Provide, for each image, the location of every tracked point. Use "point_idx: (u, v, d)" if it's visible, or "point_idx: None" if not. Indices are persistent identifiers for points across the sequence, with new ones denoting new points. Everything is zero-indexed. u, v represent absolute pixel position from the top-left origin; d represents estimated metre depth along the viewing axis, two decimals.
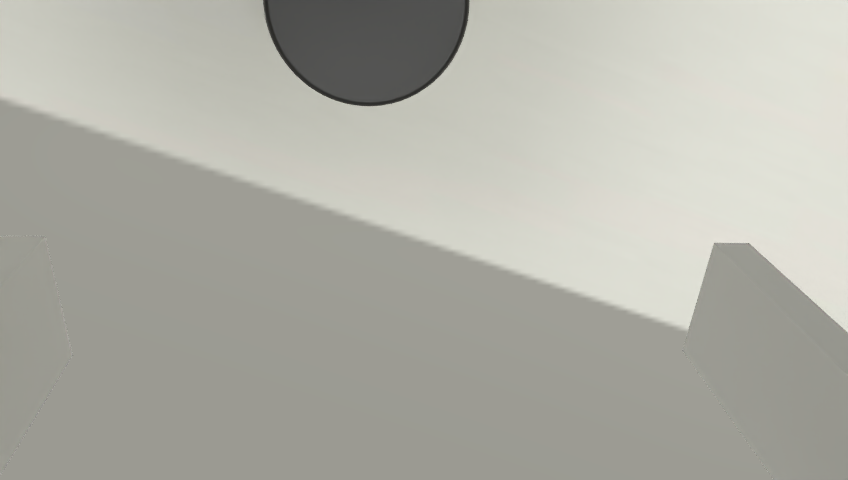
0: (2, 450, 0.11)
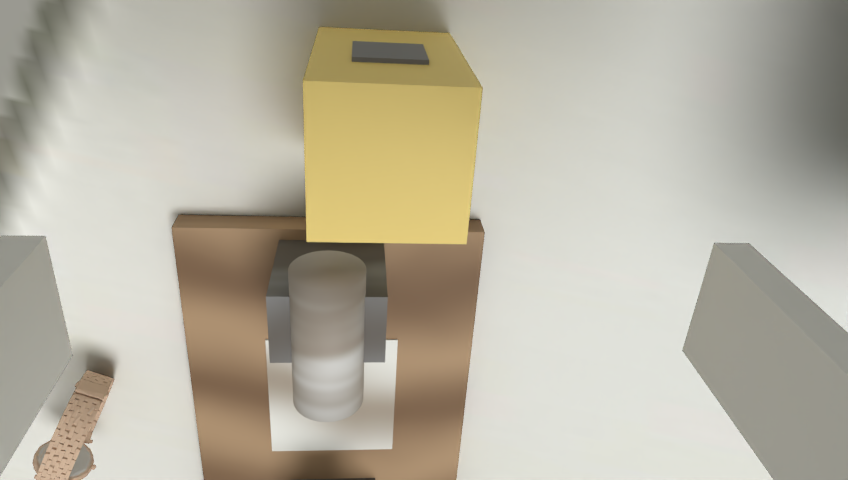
0: (2, 450, 0.11)
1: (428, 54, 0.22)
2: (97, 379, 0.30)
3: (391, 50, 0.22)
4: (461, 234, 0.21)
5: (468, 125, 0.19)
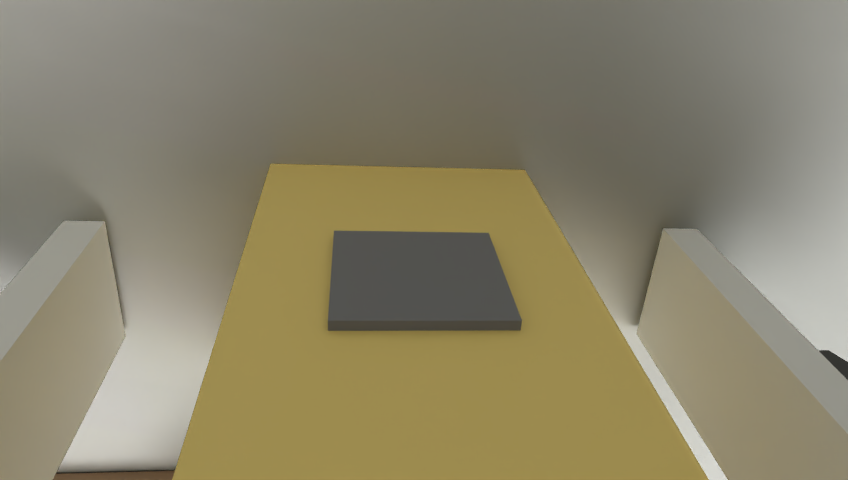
0: (71, 421, 0.11)
1: (506, 270, 0.10)
2: None
3: (423, 272, 0.09)
4: None
5: None
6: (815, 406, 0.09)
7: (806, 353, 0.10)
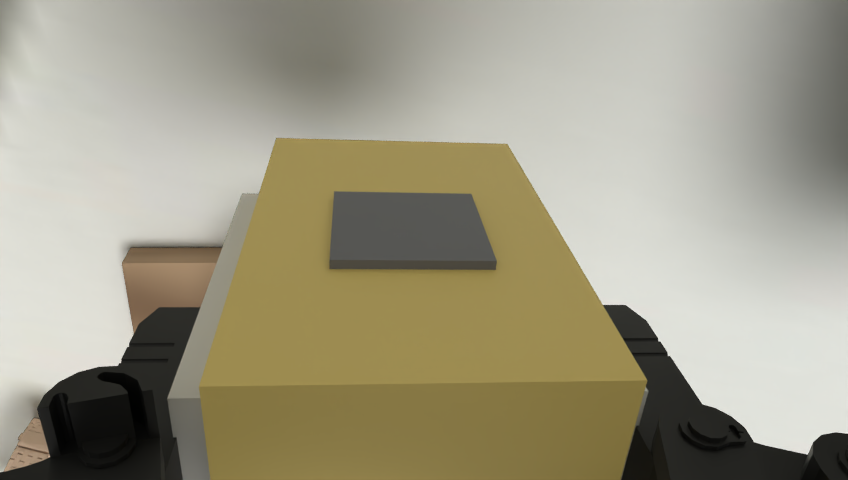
0: None
1: (486, 223, 0.11)
2: None
3: (413, 224, 0.11)
4: None
5: (604, 451, 0.08)
6: None
7: None
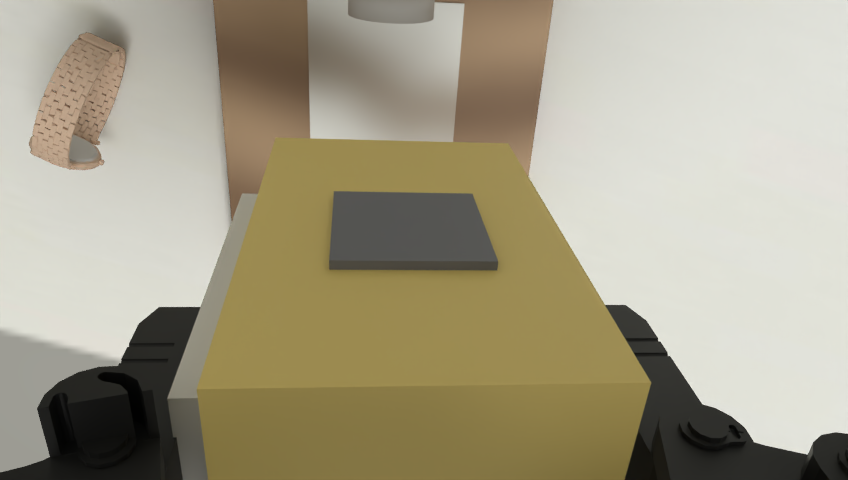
0: None
1: (487, 224, 0.11)
2: (106, 41, 0.25)
3: (413, 224, 0.10)
4: None
5: (607, 454, 0.08)
6: None
7: None
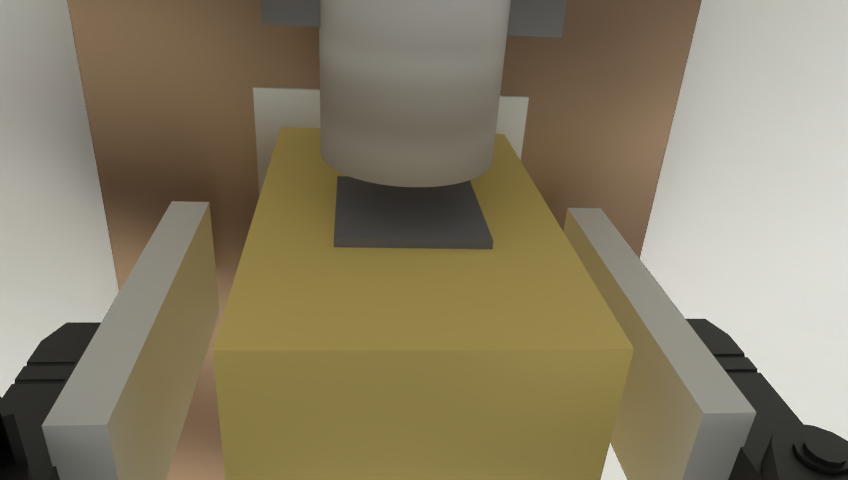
0: (191, 383, 0.12)
1: (483, 207, 0.12)
2: None
3: (413, 206, 0.11)
4: None
5: (593, 418, 0.09)
6: (666, 364, 0.10)
7: (670, 318, 0.11)
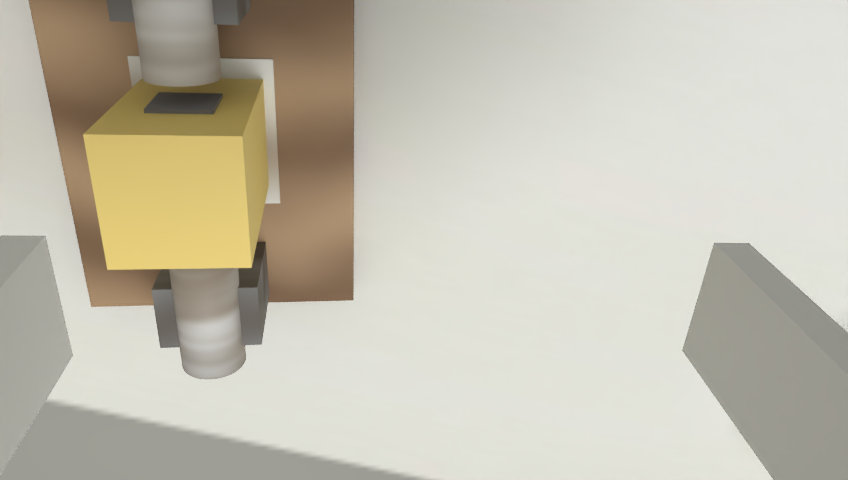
0: (2, 450, 0.11)
1: (222, 103, 0.26)
2: None
3: (186, 101, 0.25)
4: (245, 259, 0.24)
5: (235, 167, 0.23)
6: None
7: None
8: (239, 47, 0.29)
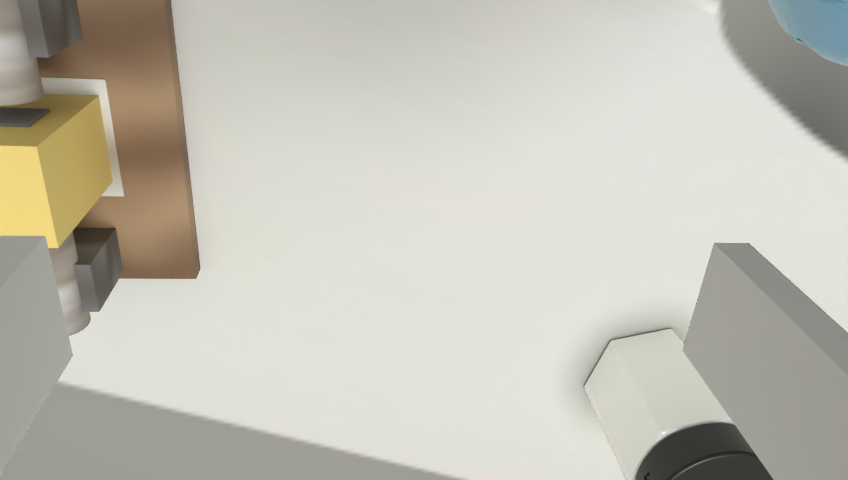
0: (2, 450, 0.11)
1: (45, 117, 0.32)
2: None
3: (14, 115, 0.32)
4: (52, 241, 0.31)
5: (34, 170, 0.29)
6: None
7: None
8: (77, 69, 0.35)
